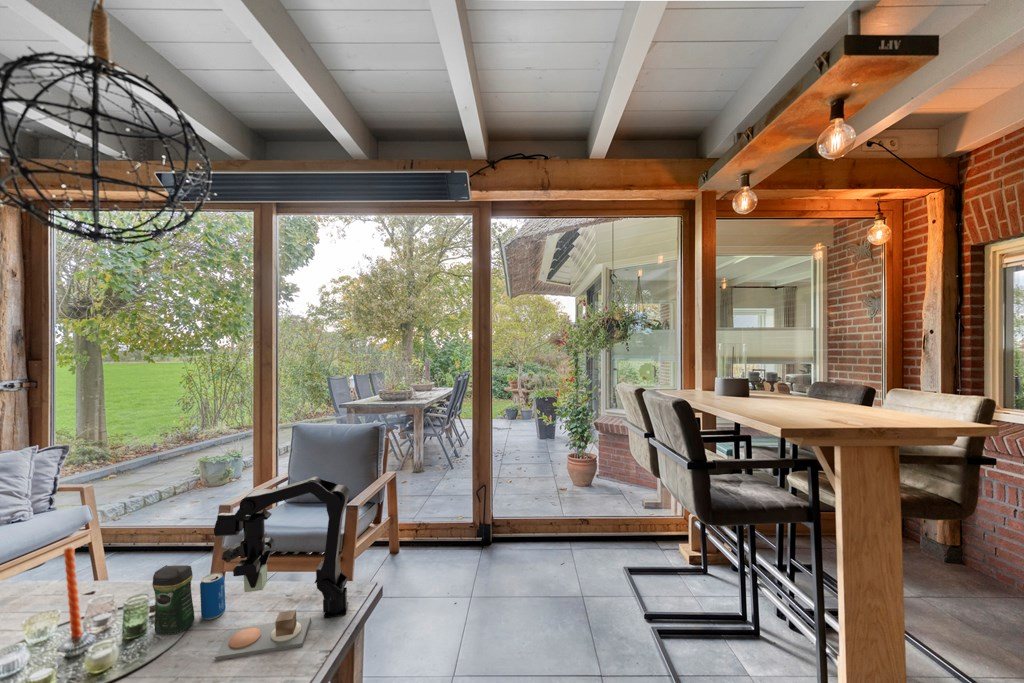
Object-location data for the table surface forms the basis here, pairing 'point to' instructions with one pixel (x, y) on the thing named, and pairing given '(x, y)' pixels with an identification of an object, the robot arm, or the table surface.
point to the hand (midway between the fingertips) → (256, 582)
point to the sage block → (260, 582)
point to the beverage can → (212, 595)
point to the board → (261, 639)
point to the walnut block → (285, 623)
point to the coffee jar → (173, 599)
